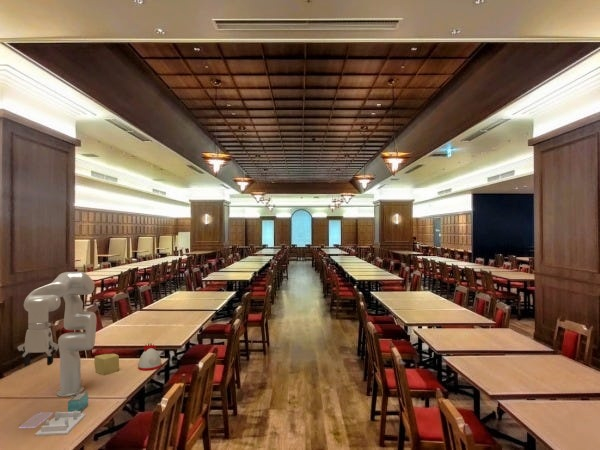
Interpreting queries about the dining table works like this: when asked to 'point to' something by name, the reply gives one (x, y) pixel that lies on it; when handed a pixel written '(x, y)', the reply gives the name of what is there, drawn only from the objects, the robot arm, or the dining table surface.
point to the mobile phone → (36, 420)
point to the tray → (61, 423)
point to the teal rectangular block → (78, 402)
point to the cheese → (106, 363)
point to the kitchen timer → (149, 359)
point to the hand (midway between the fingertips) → (38, 364)
